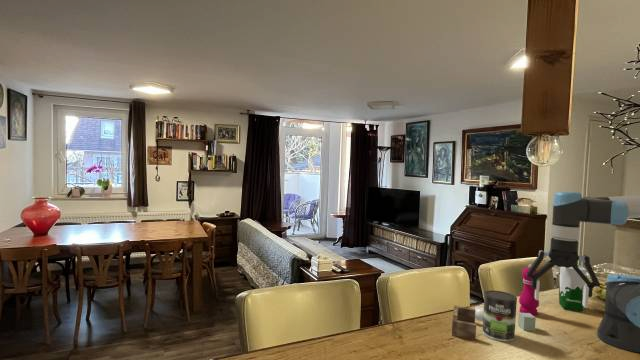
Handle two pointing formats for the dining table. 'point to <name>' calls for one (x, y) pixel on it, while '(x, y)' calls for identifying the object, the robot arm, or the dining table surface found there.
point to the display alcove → (464, 323)
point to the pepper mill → (528, 295)
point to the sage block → (526, 321)
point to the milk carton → (571, 288)
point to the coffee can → (499, 315)
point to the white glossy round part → (479, 313)
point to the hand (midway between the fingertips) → (560, 302)
